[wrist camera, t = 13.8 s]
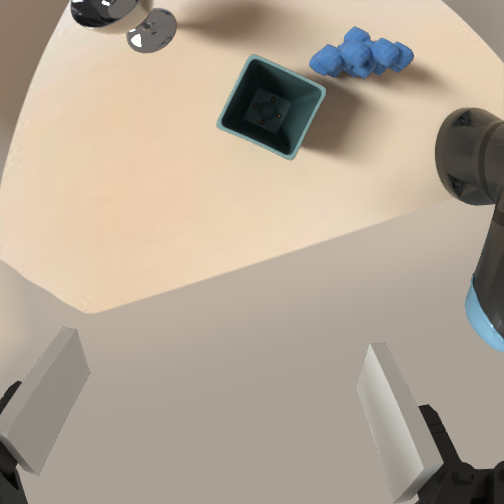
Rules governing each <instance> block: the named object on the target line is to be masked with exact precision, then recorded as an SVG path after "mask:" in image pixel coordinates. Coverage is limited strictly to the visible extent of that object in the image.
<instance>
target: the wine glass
mask: <svg viewBox="0 0 504 504" xmlns="http://www.w3.org/2000/svg"><path fill="white" fill-rule="evenodd" d="M153 7H154V0H71V14H72V16H73V18H74V20H75V21H76V22H77V23H78V24H80V25H81V26H83V27H85V28H87V29H89V30H92V31H94V32H97V33H102V34H108V35H120V34H125V33H127V34H126V37H127V42H128V44H129V46H130V47H131V48H132V49H134V50H135V51H137V52H140V53H152V52H155V51H158V50H160V49H162V48H163V47H165V46H166V45H167V44H168V43H169V42H170V41H171V39H172V38H173V36H174V34H175V31H176V21H175V18H174V16H173V15H172V14H171V13H170V12H169V11H167V10H165V9H162V8H153Z"/></svg>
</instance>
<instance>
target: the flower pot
mask: <svg viewBox="0 0 504 504" xmlns="http://www.w3.org/2000/svg"><path fill="white" fill-rule="evenodd" d="M326 93H327V90H326V88H325V87H323V86H322V85H320V84H318V83H316V82H314V81H312V80H310V79H308V78H306V77H304V76H302V75H300V74H298V73H295V72H293V71H291V70H289V69H287V68H285V67H282V66H280V65H278V64H276V63H274V62H272V61H269V60H267V59H265V58H263V57H260V56H258V55H255V54H252V55H250V56H249V57H248V59H247V61H246V63H245V65H244V67H243V69H242V71H241V73H240V75H239V77H238V79H237V81H236V83H235V85H234V87H233V90H232V91H231V94H230V95H229V98H228V100H227V102H226V104H225V106H224V108H223V110H222V112H221V114H220V116H219V118H218V120H217V123H216V126H217V128H218V129H220V130H223V131H225V132H228V133H230V134H233V135H235V136H238V137H240V138H242V139H245V140H247V141H249V142H252V143H254V144H256V145H258V146H260V147H263V148H265V149H267V150H269V151H271V152H273V153H275V154H277V155H279V156H281V157H283V158H285V159H287V160H293V159H294V158H295V156H296V154H297V152H298V150H299V148H300V146H301V144H302V142H303V139H304V137H305V135H306V133H307V131H308V129H309V127H310V125H311V123H312V121H313V119H314V117H315V115H316V113H317V111H318V109H319V107H320V105H321V103H322V101H323V100H324V97H325V96H326ZM271 98H273V99H274V100H275V101H274V102H271ZM254 104H257V105H258V107H257V108H255V107H254ZM278 114H280V115H281V117H280V118H277V115H278ZM260 120H263V121H264V123H263V124H261V123H260Z"/></svg>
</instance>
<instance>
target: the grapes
mask: <svg viewBox="0 0 504 504" xmlns="http://www.w3.org/2000/svg"><path fill="white" fill-rule="evenodd" d="M413 58H414V54H413V52H412V50H411V49H409V48H408V47H407V46H405V45H403V44H401V43H399V42H396V43H394V44H393V43H392V42H390V41H388V40H386V39H384V38H380V39H379V40H378V41H375V42H373V41H371V40H370V35H369V34H368V33H367V32H365V31H364V30H362V29H360V28H357V27H355V26H354V27H353V28H352V29H351V30H349V31H348V32H347V33H346V35H345V36H344V43H342V44H341V45H339V46H338V47H337V48H336V47H334V46H332V45H329V44H327V45H326V46H325V47H324V48H323V49H321V50H320V51H318V52H317V53H316V54H315V55H314V56H313V57H312V58H311V60H310V62H309V66H310V67H311V68H312V69H313V70H314V71H315V72H317V73H319V74H321V75H323V76H325V75H329V76H331V77H333V78H335V77H336V76H337V75H338V74H339V73H340V72H341V71H342V70H343V71H344V72H346V73H347V74H349V75H351V76H353V77H357V76H360V77H362V78H364V79H365V78H366V77H367V76H369V75H370V74H371V73H372V72H373V73H375V74H377V75H379V76H380V75H381V74H382V73H384V72H385V71H386V69H387V68H388V67H389V68H390V69H392V70H393V71H395V72H397V73H399V72H400V71H401V70H402V69H404V68H405V67H406V66H407V65H408V64H409V63H410V62H411V61H412V60H413Z"/></svg>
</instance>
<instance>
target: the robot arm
mask: <svg viewBox="0 0 504 504" xmlns="http://www.w3.org/2000/svg"><path fill="white" fill-rule="evenodd" d="M435 160H436V167H437V171H438V174H439V177H440V179H441V182H442V183H443V185H444V187H445V188H446V190H447V191H448V192H449V193H450V194H451V195H452V196H453V197H455V198H457V199H458V200H460V201H462V202H465V203H467V204H470V205H491V204H496V205H495V210H494V214H493V217H492V221H491V224H490V228H489V231H488V234H487V238H486V241H485V244H484V247H483V250H482V253H481V256H480V259H479V262H478V265H477V267H476V270H475V272H474V273H473V275H472V278H471V285H470V288H469V291H468V294H467V297H466V301H465V309H466V315H467V318H468V320H469V322H470V324H471V326H472V327H473V329H474V330H475V331H476V333H477V334H478V335H479V336H480V337H481V338H482V339H483V340H484V341H485V342H486V343H487V344H488V345H490V346H491V347H492V348H494V349H495V350H497V351H499V352H500V351H503V352H504V121H503V120H502V119H500V118H498V117H497V116H495V115H493V114H491V113H490V112H488V111H486V110H483V109H480V108H461V109H458V110H456V111H454V112H453V113H451V114H450V115H449V116H448V117H447V118H446V119H445V121H444V122H443V124H442V126H441V128H440V130H439V132H438V136H437V140H436V146H435ZM89 375H90V370H89V367H88V365H87V362H86V358H85V355H84V352H83V349H82V346H81V342H80V339H79V335H78V332H77V329H72V328H65V327H63V329H62V330H61V331H60V333H58V335H57V336H56V337H55V339H54V340H53V341H52V343H51V344H50V345H49V346H48V348H47V349H46V351H45V352H44V353H43V354H42V356H41V357H40V359H39V360H38V361H37V363H36V364H35V365H34V367H33V368H32V369H31V371H30V372H29V374H28V375H27V376H26V378H25V379H24V381H23V382H20V381H17V382H15V383H14V384H13V385H11V386H10V387H9V388H8V390H7V391H6V392H5V394H4V397H2V398H1V400H0V504H28V503H27V500H26V497H25V493H24V490H23V487H22V484H21V481H20V477H19V473H18V471H17V469H16V468H15V467H16V465H17V463H18V464H19V465H20V466H21V467H22V468H23V469H24V470H25V471H27V472H29V473H32V474H34V475H36V476H39V475H40V473H41V470H42V468H43V466H44V464H45V461H46V459H47V457H48V455H49V453H50V451H51V449H52V447H53V445H54V443H55V441H56V438H57V436H58V434H59V432H60V430H61V428H62V426H63V424H64V422H65V420H66V418H67V416H68V414H69V413H70V411H71V408H72V407H73V405H74V403H75V401H76V399H77V397H78V395H79V393H80V392H81V390H82V388H83V386H84V384H85V382H86V380H87V379H88V377H89ZM356 388H357V391H358V394H359V397H360V400H361V403H362V406H363V409H364V412H365V415H366V418H367V421H368V424H369V427H370V431H371V434H372V437H373V440H374V443H375V447H376V450H377V453H378V456H379V460H380V463H381V466H382V470H383V473H384V476H385V480H386V483H387V486H388V490H389V494H390V497H391V501H392V504H396V503H400V502H404V501H407V500H411V499H412V498H413V497H414V496H415V495H416V494H418V497H419V500H418V501H417V502H416V503H415V504H504V461H502V462H500V463H498V464H497V465H496V466H495V468H493V469H480V470H479V469H474V468H473V467H472V466H471V465H470V464H468V463H464V462H462V461H461V460H460V458H459V456H458V454H457V452H456V450H455V448H454V446H453V444H452V442H451V440H450V438H449V436H448V433H447V432H446V429H445V427H444V425H443V424H442V421H441V419H440V418H439V416H438V413H437V412H436V411H435V410H433V408H432V407H431V406H429V405H422V406H417V403H416V402H415V399H414V397H413V395H412V393H411V391H410V389H409V387H408V385H407V383H406V381H405V379H404V377H403V375H402V374H401V371H400V369H399V367H398V366H397V364H396V362H395V360H394V358H393V356H392V354H391V352H390V350H389V348H388V346H387V345H386V343H371V344H370V345H369V348H368V352H367V355H366V358H365V362H364V365H363V368H362V371H361V374H360V377H359V381H358V384H357V386H356Z"/></svg>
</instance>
